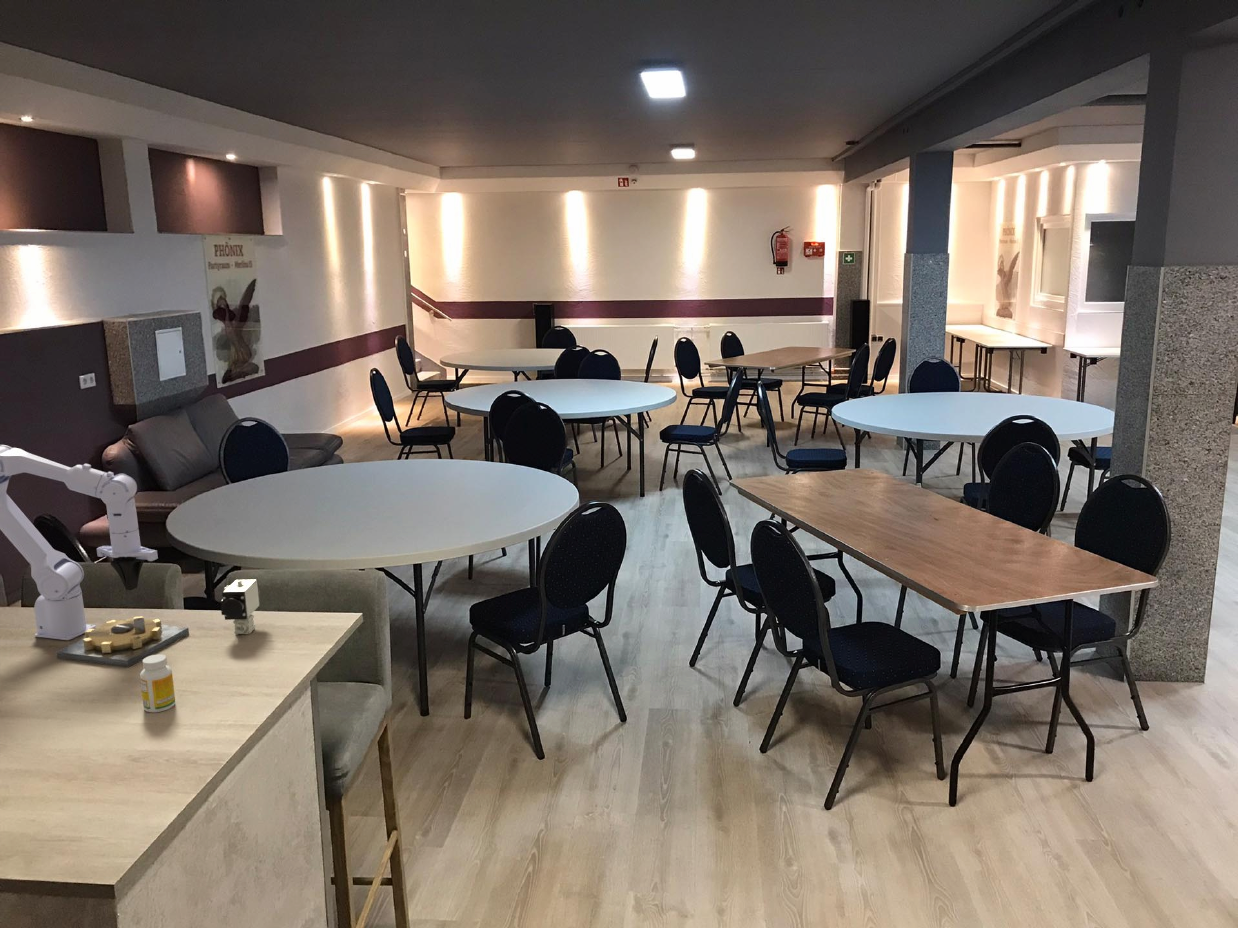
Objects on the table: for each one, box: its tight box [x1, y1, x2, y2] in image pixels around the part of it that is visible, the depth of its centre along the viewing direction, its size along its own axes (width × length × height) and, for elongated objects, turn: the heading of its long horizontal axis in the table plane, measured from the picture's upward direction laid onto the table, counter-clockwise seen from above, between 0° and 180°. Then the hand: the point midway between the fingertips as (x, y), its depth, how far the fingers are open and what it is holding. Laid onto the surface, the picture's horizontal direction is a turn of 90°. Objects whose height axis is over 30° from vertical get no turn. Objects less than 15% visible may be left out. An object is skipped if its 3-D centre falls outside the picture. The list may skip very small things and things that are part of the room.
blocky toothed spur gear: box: [82, 616, 162, 653], centre depth 207 cm, size 15×15×5 cm
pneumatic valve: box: [219, 578, 261, 636], centre depth 213 cm, size 6×12×12 cm, turn 2°
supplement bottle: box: [139, 653, 176, 713], centre depth 178 cm, size 5×5×10 cm
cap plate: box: [55, 624, 190, 668], centre depth 207 cm, size 18×18×2 cm
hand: (131, 588), depth 215 cm, fingers closed
